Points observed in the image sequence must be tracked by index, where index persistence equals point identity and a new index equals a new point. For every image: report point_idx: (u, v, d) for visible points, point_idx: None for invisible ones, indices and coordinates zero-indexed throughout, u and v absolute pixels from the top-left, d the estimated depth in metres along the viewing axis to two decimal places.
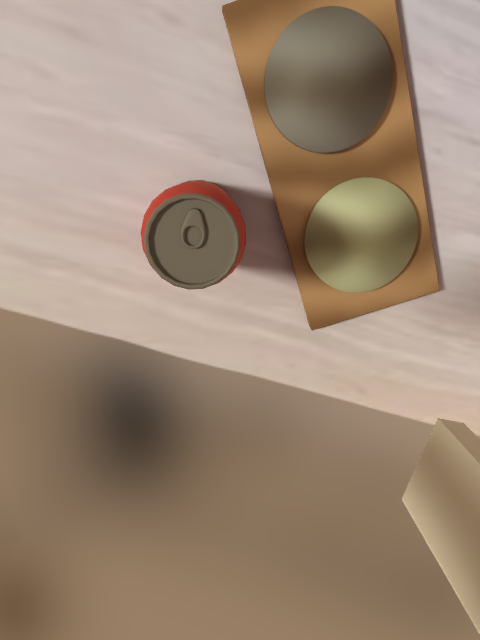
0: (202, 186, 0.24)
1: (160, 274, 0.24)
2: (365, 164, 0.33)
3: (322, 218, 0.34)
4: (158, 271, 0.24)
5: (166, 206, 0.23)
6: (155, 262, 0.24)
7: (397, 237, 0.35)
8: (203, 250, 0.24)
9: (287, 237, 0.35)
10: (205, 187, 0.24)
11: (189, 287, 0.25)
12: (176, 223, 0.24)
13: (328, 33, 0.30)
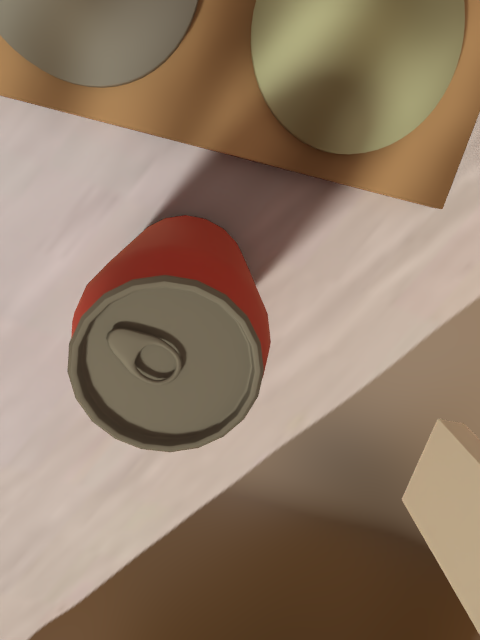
0: (91, 286, 0.13)
1: (190, 447, 0.13)
2: None
3: (286, 90, 0.19)
4: (183, 448, 0.13)
5: (79, 376, 0.12)
6: (165, 442, 0.13)
7: None
8: (193, 357, 0.12)
9: (282, 165, 0.21)
10: (95, 282, 0.12)
11: (241, 417, 0.12)
12: (120, 374, 0.12)
13: None
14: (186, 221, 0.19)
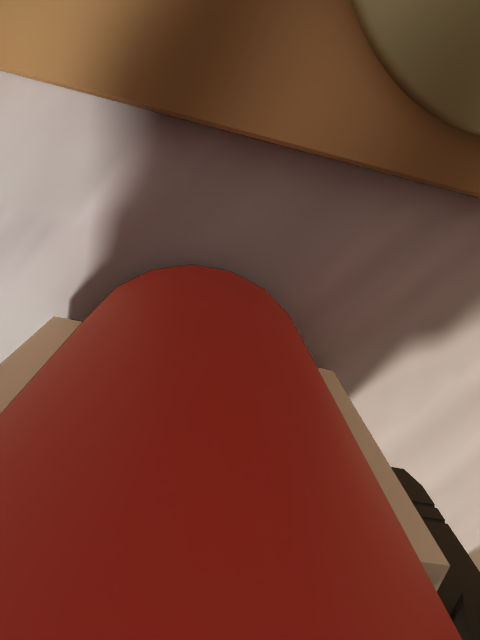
0: None
1: None
2: None
3: None
4: None
5: None
6: None
7: None
8: None
9: (385, 164, 0.10)
10: None
11: None
12: None
13: None
14: (192, 292, 0.08)
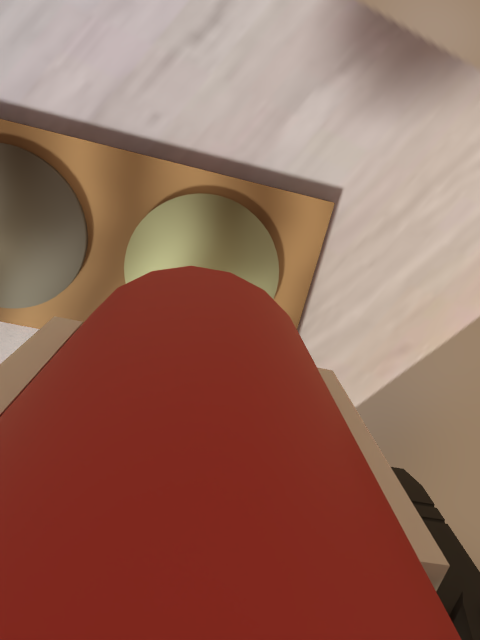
0: None
1: None
2: (118, 226, 0.25)
3: None
4: None
5: None
6: None
7: (227, 231, 0.25)
8: None
9: None
10: None
11: None
12: None
13: None
14: (193, 294, 0.08)
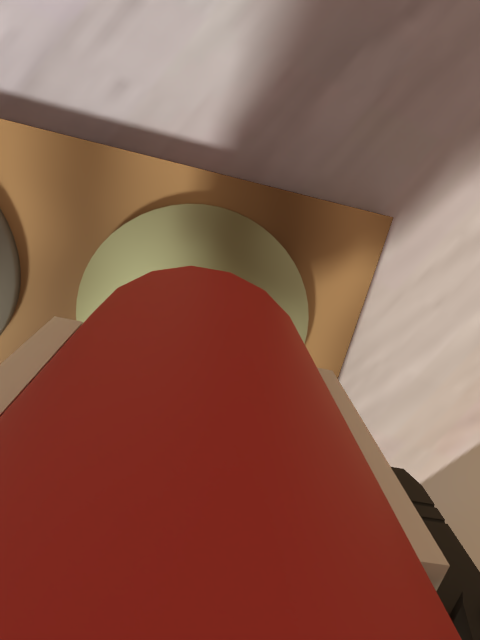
0: None
1: None
2: (67, 252, 0.17)
3: None
4: None
5: None
6: None
7: (232, 260, 0.16)
8: None
9: None
10: None
11: None
12: None
13: None
14: (193, 294, 0.08)
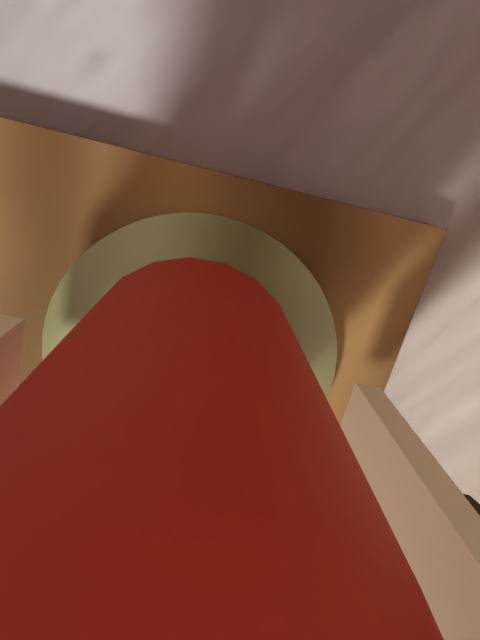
0: None
1: None
2: (30, 274, 0.13)
3: None
4: None
5: None
6: None
7: None
8: None
9: None
10: None
11: None
12: None
13: None
14: (190, 280, 0.09)
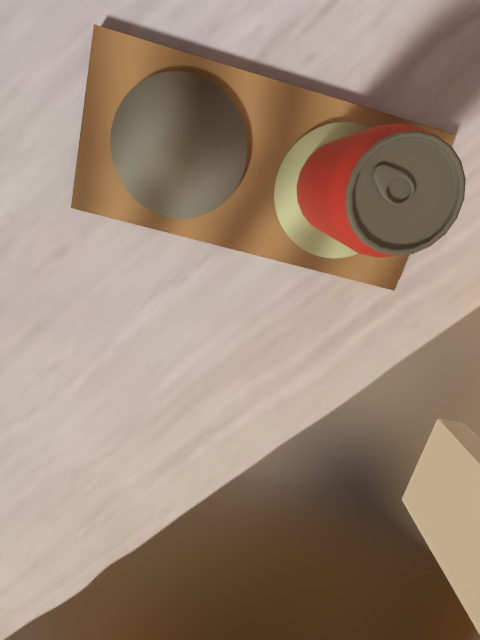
0: (351, 146, 0.20)
1: (409, 252, 0.20)
2: (273, 149, 0.30)
3: (294, 222, 0.31)
4: (405, 252, 0.20)
5: (352, 196, 0.19)
6: (393, 248, 0.20)
7: None
8: (420, 189, 0.19)
9: (290, 262, 0.33)
10: (354, 144, 0.20)
11: (445, 231, 0.20)
12: (373, 198, 0.19)
13: (137, 125, 0.29)
14: None
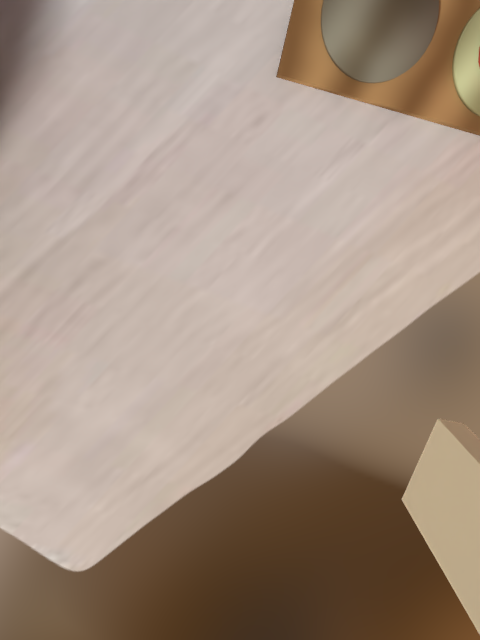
0: None
1: None
2: (456, 17, 0.35)
3: (470, 84, 0.36)
4: None
5: None
6: None
7: None
8: None
9: (460, 125, 0.37)
10: None
11: None
12: None
13: None
14: None
